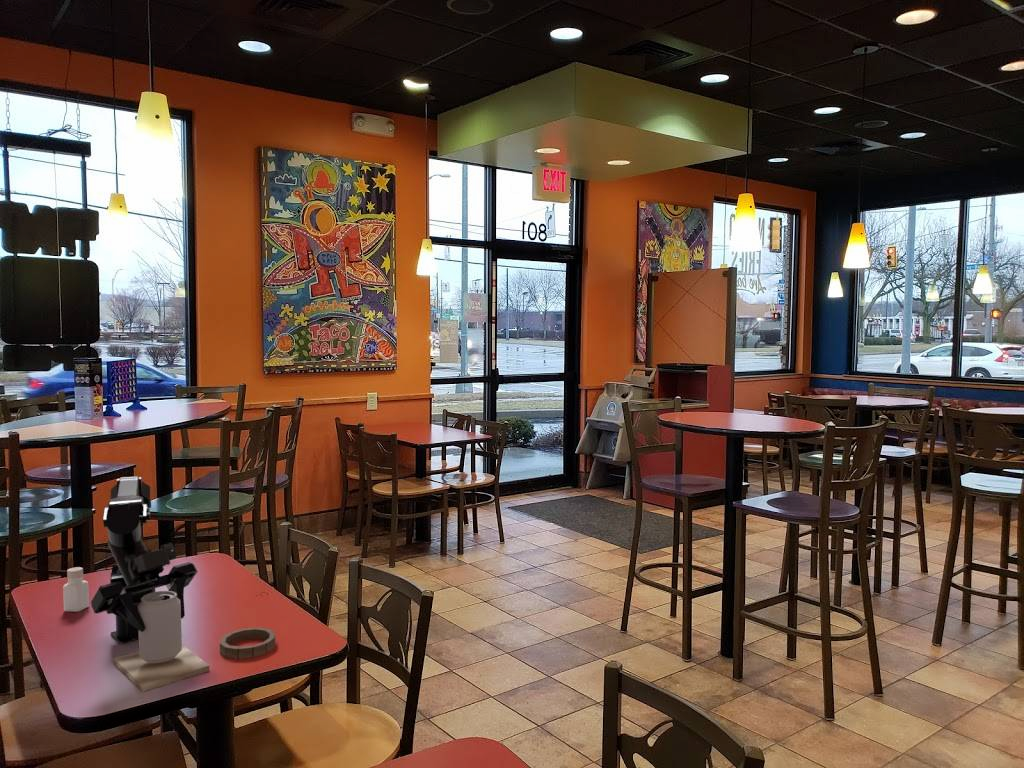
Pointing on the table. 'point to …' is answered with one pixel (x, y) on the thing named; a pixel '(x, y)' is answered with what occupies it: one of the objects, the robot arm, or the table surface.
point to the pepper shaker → (75, 591)
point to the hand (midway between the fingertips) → (163, 623)
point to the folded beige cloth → (160, 669)
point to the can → (160, 626)
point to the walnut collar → (247, 650)
